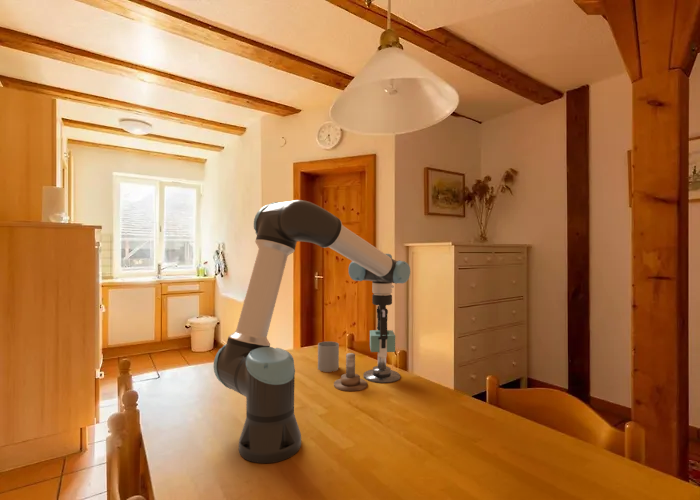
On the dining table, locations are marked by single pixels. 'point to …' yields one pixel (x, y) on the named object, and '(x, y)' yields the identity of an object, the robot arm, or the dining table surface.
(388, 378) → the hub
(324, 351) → the cup
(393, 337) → the teal square block
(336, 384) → the stand
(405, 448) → the dining table surface
